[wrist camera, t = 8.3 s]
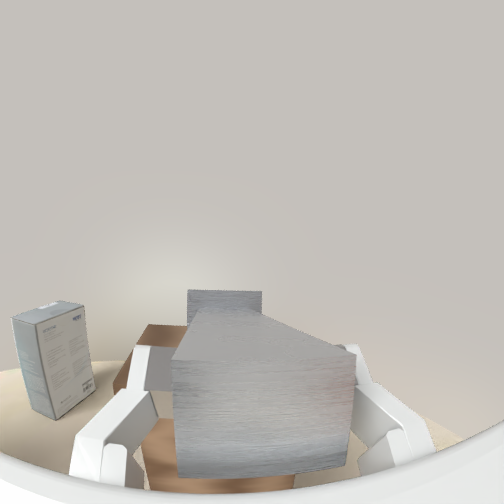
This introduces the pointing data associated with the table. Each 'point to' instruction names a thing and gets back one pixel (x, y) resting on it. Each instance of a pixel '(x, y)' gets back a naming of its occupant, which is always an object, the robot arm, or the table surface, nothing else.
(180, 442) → the link bar
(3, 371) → the table surface
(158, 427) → the walnut stand
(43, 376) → the hard drive box
